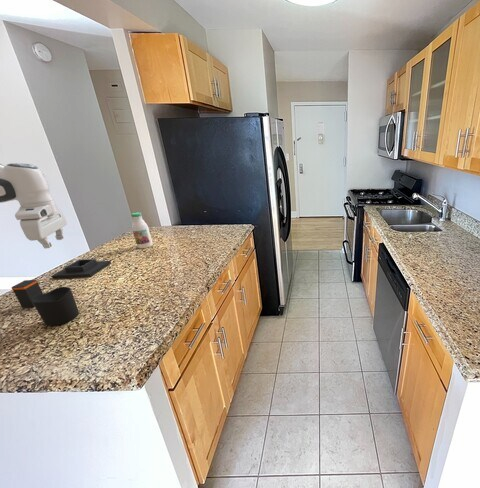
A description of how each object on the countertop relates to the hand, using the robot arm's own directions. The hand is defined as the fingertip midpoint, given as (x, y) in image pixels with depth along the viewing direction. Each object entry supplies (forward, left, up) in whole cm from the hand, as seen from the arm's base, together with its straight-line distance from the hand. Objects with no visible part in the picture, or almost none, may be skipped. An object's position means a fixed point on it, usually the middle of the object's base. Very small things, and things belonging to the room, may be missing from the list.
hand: (54, 243), depth 102 cm
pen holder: (+7, -24, -21) cm, 32 cm away
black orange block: (-8, -9, -20) cm, 24 cm away
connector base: (-3, +18, -20) cm, 27 cm away
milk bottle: (+17, +43, -21) cm, 51 cm away
